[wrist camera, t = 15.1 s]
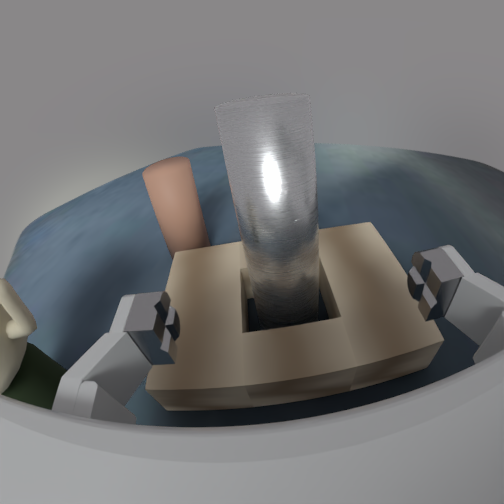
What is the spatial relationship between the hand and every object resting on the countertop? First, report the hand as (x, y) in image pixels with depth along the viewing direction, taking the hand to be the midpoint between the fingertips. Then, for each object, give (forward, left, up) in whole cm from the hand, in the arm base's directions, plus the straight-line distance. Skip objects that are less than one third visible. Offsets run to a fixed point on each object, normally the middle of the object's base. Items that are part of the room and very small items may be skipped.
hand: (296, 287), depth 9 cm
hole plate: (0, -6, -9) cm, 11 cm away
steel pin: (0, -6, -9) cm, 11 cm away
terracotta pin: (+8, -16, -9) cm, 20 cm away
